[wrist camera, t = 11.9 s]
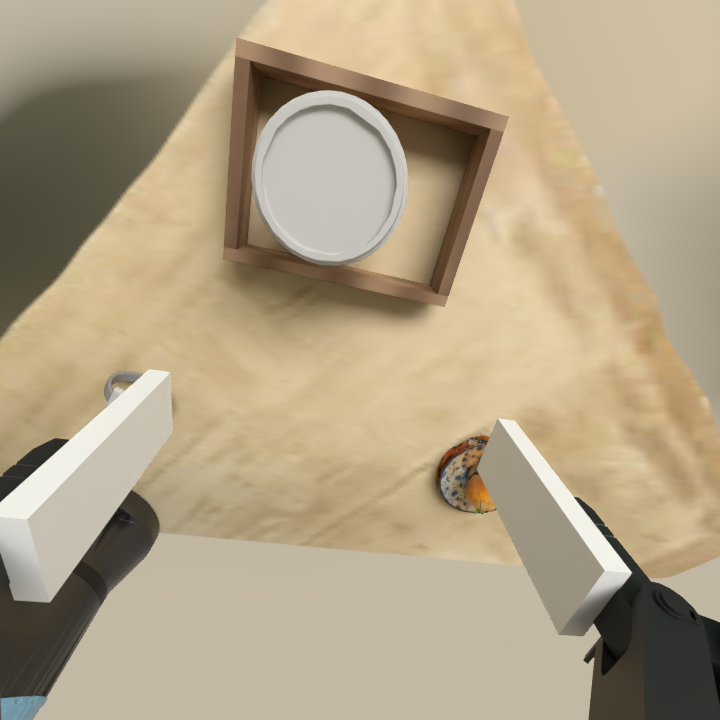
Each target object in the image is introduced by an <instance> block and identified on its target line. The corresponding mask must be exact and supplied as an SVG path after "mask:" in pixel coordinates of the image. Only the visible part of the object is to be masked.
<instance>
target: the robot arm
mask: <svg viewBox="0 0 720 720" xmlns="http://www.w3.org/2000/svg"><path fill="white" fill-rule="evenodd" d="M172 432H173V424H172V394H171V372H166V371H158V370H151V369H149V370H148V371H147V372H146V373H144V374H143V375H142V376H141V377H140V378H139V379H138V380H137V381H135V382H134V383H133V384H132V385H131V386H130V387H129V388H128V389H127V390H125V391H124V392H123V393H122V394H121V395H120V396H119V397H118V398H116V399H115V400H114V401H113V402H112V403H111V404H110V405H109V406H108V407H106V408H105V409H104V410H103V411H102V412H101V413H100V414H99V415H97V416H96V417H95V418H94V419H93V420H92V421H91V422H90V423H89V424H87V425H86V426H85V427H84V428H83V429H82V430H81V431H80V432H78V433H77V434H76V435H75V436H74V437H73V438H72V439H71V440H66V439H58V438H55V439H53V440H51V441H49V442H47V443H45V444H43V445H41V446H38V447H36V448H34V449H33V450H32V451H30V452H29V453H28V454H27V455H25V456H24V457H23V458H22V459H21V460H19V461H18V462H17V464H16V465H13V466H12V467H11V468H10V469H8V470H7V471H6V472H5V473H3V476H2V477H0V720H33V718H34V717H35V715H36V714H37V712H38V711H39V709H40V708H41V707H42V706H43V705H44V704H45V702H46V701H47V696H48V694H49V692H50V691H51V689H52V687H53V685H54V684H55V682H56V681H57V679H58V677H59V676H60V674H61V672H62V671H63V669H64V667H65V666H66V664H67V662H68V660H69V659H70V657H71V655H72V654H73V652H74V650H75V649H76V647H77V645H78V644H79V642H80V640H81V639H82V637H83V635H84V633H85V632H86V630H87V628H88V627H89V625H90V623H91V621H92V620H93V618H94V616H95V615H96V613H97V612H98V609H99V608H100V606H101V605H102V603H103V601H104V600H105V598H106V597H107V595H108V594H109V592H110V591H111V590H112V589H113V588H114V587H115V586H116V585H117V584H118V583H119V582H120V581H122V580H123V579H124V578H125V577H126V576H127V575H128V574H129V573H130V572H131V571H132V570H133V569H134V568H135V567H136V566H137V565H138V564H139V563H140V562H141V561H142V560H143V559H144V558H145V557H146V555H147V554H148V552H149V551H150V549H151V547H152V546H153V544H154V542H155V540H156V538H157V536H158V533H159V523H158V519H157V517H156V515H155V513H154V511H153V509H152V508H151V507H150V506H149V504H148V503H147V502H146V501H145V500H144V499H142V498H141V497H140V496H139V495H137V494H136V493H134V492H133V491H131V489H132V488H133V487H134V485H135V484H136V482H137V481H138V480H139V478H140V477H141V475H142V474H143V473H144V471H145V470H146V468H147V467H148V466H149V464H150V463H151V462H152V460H153V459H154V457H155V456H156V455H157V453H158V452H159V450H160V449H161V448H162V446H163V445H164V443H165V442H166V441H167V439H168V438H169V437H170V435H171V434H172ZM477 471H478V473H479V475H480V477H481V479H482V481H483V483H484V485H485V487H486V489H487V491H488V493H489V495H490V497H491V499H492V501H493V503H494V505H495V507H496V509H497V511H498V513H499V515H500V517H501V519H502V521H503V523H504V525H505V527H506V529H507V531H508V533H509V535H510V537H511V540H512V542H513V544H514V546H515V548H516V550H517V552H518V554H519V556H520V558H521V560H522V562H523V564H524V566H525V568H526V570H527V572H528V574H529V576H530V578H531V579H532V582H533V584H534V586H535V588H536V590H537V592H538V594H539V596H540V598H541V600H542V602H543V604H544V606H545V608H546V610H547V612H548V614H549V616H550V618H551V620H552V622H553V624H554V626H555V628H556V630H557V632H558V634H559V635H572V636H584V635H585V633H586V632H587V631H588V630H589V628H590V627H591V626H592V624H593V623H594V624H595V626H596V628H597V630H598V631H599V633H600V634H601V637H600V638H599V639H598V641H597V642H596V643H595V644H594V645H593V647H592V648H591V649H590V650H589V652H588V653H587V654H586V656H585V658H584V661H585V662H586V663H589V661H590V660H591V659H592V658H595V660H594V670H593V679H592V690H591V700H590V710H589V720H720V622H717V621H715V620H712V619H709V618H707V617H704V616H701V615H699V614H698V613H697V612H696V611H695V609H694V608H693V607H692V606H691V605H690V604H689V603H688V602H687V601H686V600H685V599H683V597H682V596H680V595H679V594H677V593H676V592H674V591H673V590H671V589H670V588H668V587H666V586H664V585H662V584H659V583H655V582H651V581H650V580H649V578H648V577H647V576H646V575H645V573H644V572H643V571H642V570H641V569H640V567H639V566H638V565H637V564H636V562H635V561H634V560H633V559H632V557H631V556H630V555H629V554H628V552H627V551H626V550H625V549H624V547H623V546H622V545H621V544H620V542H619V541H618V540H617V539H616V538H614V535H613V534H612V532H611V531H610V530H609V529H608V527H605V524H604V522H603V521H602V520H601V519H600V517H599V516H598V515H597V514H596V513H595V511H594V510H593V509H592V508H590V507H589V506H588V505H587V504H586V503H584V502H583V501H582V500H581V499H580V498H578V497H573V496H572V494H571V493H570V492H569V491H568V489H567V488H566V487H565V485H564V484H563V483H562V481H561V480H560V479H559V478H558V476H557V475H556V474H555V472H554V471H553V470H552V469H551V467H550V466H549V465H548V463H547V462H546V461H545V459H544V458H543V457H542V456H541V454H540V453H539V452H538V450H537V449H536V448H535V446H534V445H533V444H532V443H531V441H530V440H529V439H528V437H527V436H526V435H525V434H524V432H523V431H522V430H521V428H520V427H519V426H518V424H517V423H516V422H515V421H512V420H505V419H497V421H496V424H495V426H494V429H493V431H492V433H491V436H490V438H489V441H488V443H487V445H486V448H485V450H484V452H483V455H482V457H481V460H480V462H479V464H478V467H477Z"/></svg>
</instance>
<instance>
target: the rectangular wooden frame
mask: <svg viewBox="0 0 720 720" xmlns="http://www.w3.org/2000/svg"><path fill="white" fill-rule="evenodd" d="M261 75H262V76H266V77H269V78H273V79H276V80H280V81H284V82H287V83H291V84H294V85H298V86H301V87H305V88H309V89H312V90H316V91H325V90H330V91H339V92H344V93H347V94H350V95H353V96H356V97H358V98H360V99H362V100H364V101H366V102H367V103H368V104H370V105H371V106H373V107H376V108H380V109H383V110H387V111H391V112H394V113H398V114H401V115H405V116H408V117H412V118H415V119H419V120H423V121H426V122H430V123H433V124H437V125H440V126H444V127H448V128H451V129H455V130H458V131H462V132H465V133H469V134H473V135H476V138H475V141H474V145H473V148H472V151H471V154H470V157H469V161H468V164H467V167H466V170H465V174H464V177H463V180H462V183H461V186H460V190H459V193H458V196H457V199H456V202H455V206H454V209H453V212H452V215H451V219H450V222H449V225H448V228H447V231H446V235H445V238H444V241H443V244H442V248H441V251H440V254H439V257H438V260H437V264H436V267H435V270H434V273H433V277H432V280H431V283H430V285H427V284H423V283H418V282H414V281H409V280H405V279H400V278H396V277H391V276H387V275H382V274H378V273H373V272H369V271H364V270H360V269H355V268H351V267H346V266H342V265H338V266H329V265H319V264H316V263H312V262H308V261H306V260H304V259H302V258H300V257H298V256H296V255H293V254H288V253H284V252H279V251H275V250H270V249H266V248H261V247H257V246H252V245H248V244H247V238H248V227H249V215H250V203H251V192H252V180H251V173H252V160H253V155H254V151H255V145H256V133H257V121H258V110H259V98H260V86H261ZM508 118H509V117H508V116H504V115H501V114H497V113H494V112H491V111H487V110H484V109H480V108H477V107H473V106H470V105H466V104H463V103H460V102H456V101H453V100H449V99H446V98H442V97H439V96H435V95H432V94H429V93H425V92H422V91H418V90H415V89H411V88H408V87H405V86H401V85H398V84H394V83H391V82H387V81H384V80H380V79H377V78H374V77H370V76H367V75H363V74H360V73H356V72H353V71H349V70H346V69H343V68H339V67H336V66H332V65H329V64H325V63H322V62H318V61H315V60H312V59H308V58H305V57H301V56H298V55H294V54H291V53H287V52H284V51H281V50H277V49H274V48H270V47H267V46H263V45H260V44H257V43H253V42H250V41H246V40H243V39H239V38H236V54H235V71H234V88H233V104H232V121H231V138H230V155H229V172H228V189H227V206H226V223H225V240H224V257H223V259H226V260H230V261H235V262H240V263H244V264H249V265H253V266H258V267H263V268H267V269H272V270H277V271H281V272H286V273H290V274H295V275H300V276H304V277H309V278H313V279H318V280H323V281H327V282H332V283H337V284H341V285H346V286H350V287H355V288H360V289H364V290H369V291H373V292H378V293H383V294H387V295H392V296H397V297H401V298H406V299H410V300H415V301H420V302H424V303H429V304H433V305H438V306H443V307H445V304H446V302H447V299H448V296H449V293H450V290H451V287H452V284H453V281H454V278H455V275H456V272H457V269H458V266H459V263H460V260H461V257H462V254H463V251H464V248H465V245H466V242H467V239H468V236H469V233H470V230H471V227H472V225H473V222H474V219H475V216H476V213H477V210H478V207H479V204H480V201H481V198H482V195H483V192H484V189H485V186H486V183H487V180H488V177H489V174H490V171H491V168H492V165H493V162H494V159H495V156H496V153H497V150H498V148H499V145H500V142H501V139H502V136H503V133H504V130H505V127H506V124H507V121H508Z"/></svg>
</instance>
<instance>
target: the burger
mask: <svg viewBox="0 0 720 720" xmlns="http://www.w3.org/2000/svg"><path fill="white" fill-rule="evenodd" d="M489 438H490V437H487V436H477V438H470V440H469V441H467V442H463V444H462V445H461V446H458V447H453V448H451V449H450V450H449V451H448V452H447V453H446V455H445V457H444V459H443V460H442V461H441V464H440V467H438V468H437V471H436V481H437V485H438V487H439V489H440V492H441V495H442V497H443V498H444V500H445V501H446V502H447V503H448V504H449V505H451V506H453V507H454V508H456V509H458V510H460V511H464V512H471V513H475V514H476V513H481V514H483V513H486V512H490V511H494V510H497V509H496V507H495V505H494V503H493V501H492V499H491V497H490V495H489V493H488V491H487V489H486V487H485V485H484V483H483V481H482V479H481V477H480V475H479V473H478V471H477V467H478V464H479V462H480V460H481V457H482V455H483V452H484V450H485V448H486V445H487V443H488V441H489Z"/></svg>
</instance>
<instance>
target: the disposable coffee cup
mask: <svg viewBox="0 0 720 720" xmlns="http://www.w3.org/2000/svg"><path fill="white" fill-rule="evenodd" d="M251 180H252V187H253V194H254V200H255V203H256V206H257V208H258V211H259V214H260V216H261V218H262V220H263V222H264V224H265V225H266V227H267V229H268V230H269V232H270V233H271V234H272V235H273V236H274V238H275V239H276V240H277V241H278V242H279V243H280V244H281V245H282V246H283V247H285V248H286V249H287V250H288V251H289V252H291V253H292V254H294V255H296V256H298V257H300V258H302V259H304V260H306V261H308V262H312V263H316V264H319V265H329V266H338V265H346V264H350V263H353V262H357V261H359V260H361V259H363V258H365V257H367V256H369V255H371V254H372V253H374V252H375V251H377V250H378V249H379V248H380V247H381V246H382V245H383V244H384V243H385V242H386V241H387V240H388V238H389V237H390V236H391V235H392V233H393V232H394V231H395V229H396V227H397V225H398V223H399V221H400V219H401V217H402V214H403V211H404V208H405V205H406V200H407V191H408V169H407V163H406V159H405V155H404V151H403V148H402V146H401V144H400V141H399V139H398V136H397V134H396V133H395V131H394V130H393V128H392V127H391V125H390V124H389V122H388V121H387V120H386V119H385V118H384V117H383V116H382V114H381V113H380V112H379V111H378V110H376V109H375V108H374V107H372V106H371V105H370V104H368V103H367V102H366V101H364V100H362V99H360V98H358V97H356V96H353V95H350V94H347V93H344V92H339V91H330V90H325V91H316V92H310V93H306V94H304V95H301V96H299V97H297V98H294V99H292V100H291V101H289V102H288V103H286V104H285V105H283V106H282V107H281V108H280V109H279V110H278V111H277V112H276V113H275V114H274V115H273V116H272V117H271V118H270V119H269V121H268V122H267V124H266V126H265V127H264V129H263V130H262V132H261V134H260V137H259V139H258V141H257V144H256V147H255V151H254V155H253V160H252V173H251Z"/></svg>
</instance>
